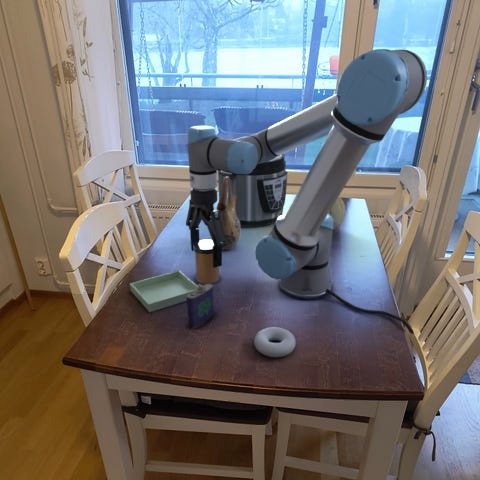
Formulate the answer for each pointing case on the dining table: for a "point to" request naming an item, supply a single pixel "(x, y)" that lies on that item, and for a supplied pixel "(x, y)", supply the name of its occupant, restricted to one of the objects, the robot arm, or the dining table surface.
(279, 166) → the pressure cooker
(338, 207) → the cantaloupe
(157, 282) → the serving tray
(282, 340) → the donut
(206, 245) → the jar
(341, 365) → the dining table surface
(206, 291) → the flask
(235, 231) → the ceramic vessel
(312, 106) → the robot arm
